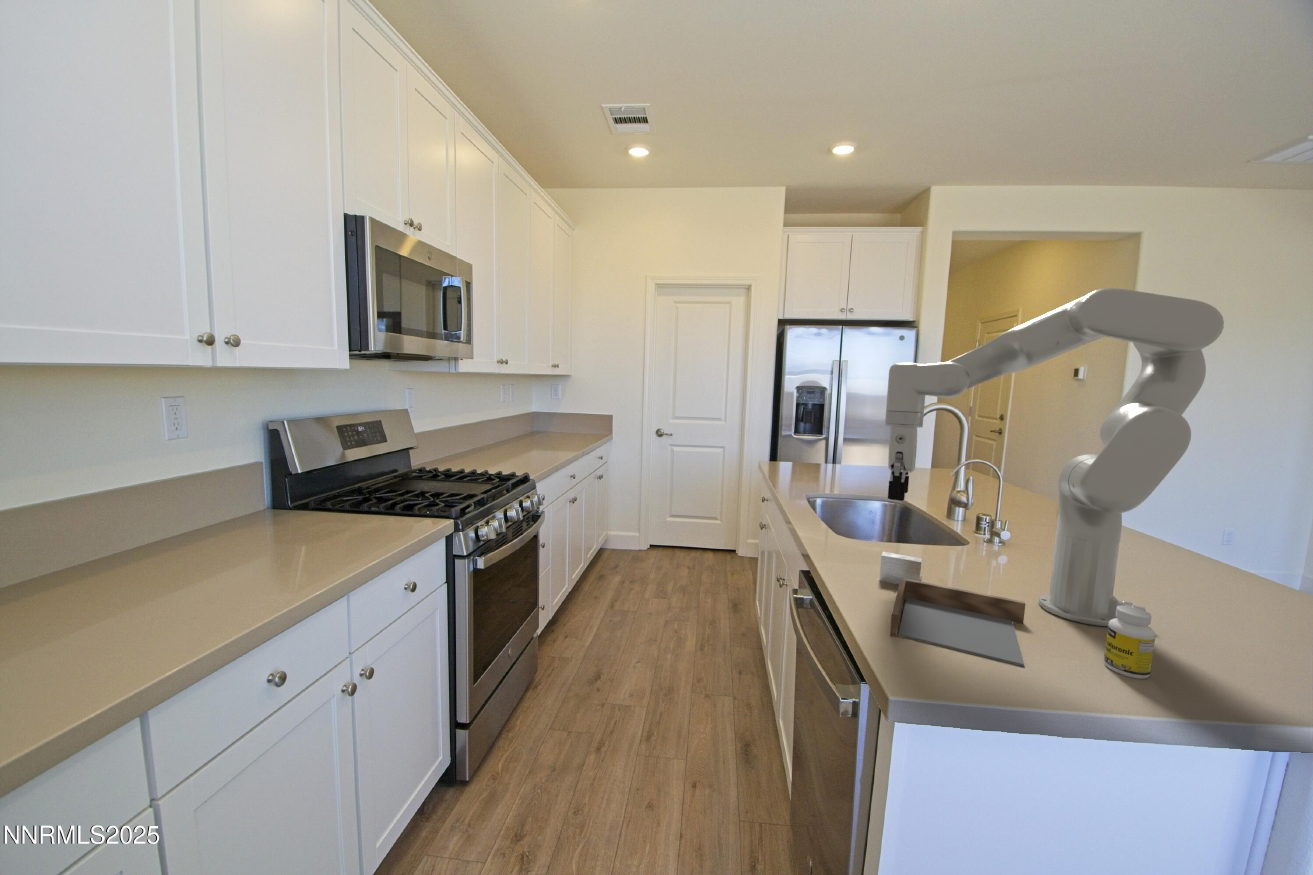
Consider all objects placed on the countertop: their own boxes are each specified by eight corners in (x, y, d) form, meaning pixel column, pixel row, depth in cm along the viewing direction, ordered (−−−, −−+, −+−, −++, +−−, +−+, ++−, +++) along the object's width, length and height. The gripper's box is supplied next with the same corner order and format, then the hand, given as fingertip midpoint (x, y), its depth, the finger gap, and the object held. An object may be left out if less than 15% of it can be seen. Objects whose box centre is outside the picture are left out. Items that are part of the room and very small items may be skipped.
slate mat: (1011, 622, 95) (1012, 620, 95) (1023, 666, 80) (1024, 664, 80) (906, 599, 104) (906, 597, 104) (898, 635, 89) (898, 633, 89)
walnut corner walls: (1022, 620, 96) (1024, 600, 96) (1038, 672, 78) (1041, 648, 78) (899, 595, 106) (901, 576, 106) (889, 635, 89) (891, 613, 88)
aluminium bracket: (879, 580, 115) (881, 555, 114) (883, 568, 122) (885, 544, 122) (919, 588, 111) (921, 562, 110) (920, 575, 118) (923, 551, 118)
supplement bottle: (1094, 660, 82) (1101, 603, 81) (1124, 660, 83) (1132, 602, 82) (1127, 680, 77) (1135, 618, 76) (1160, 679, 77) (1168, 618, 76)
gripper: (921, 422, 102) (914, 505, 104) (925, 419, 117) (919, 491, 119) (880, 420, 106) (874, 500, 107) (889, 417, 121) (884, 487, 122)
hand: (898, 495), depth 113 cm, fingers open, 9 cm apart
